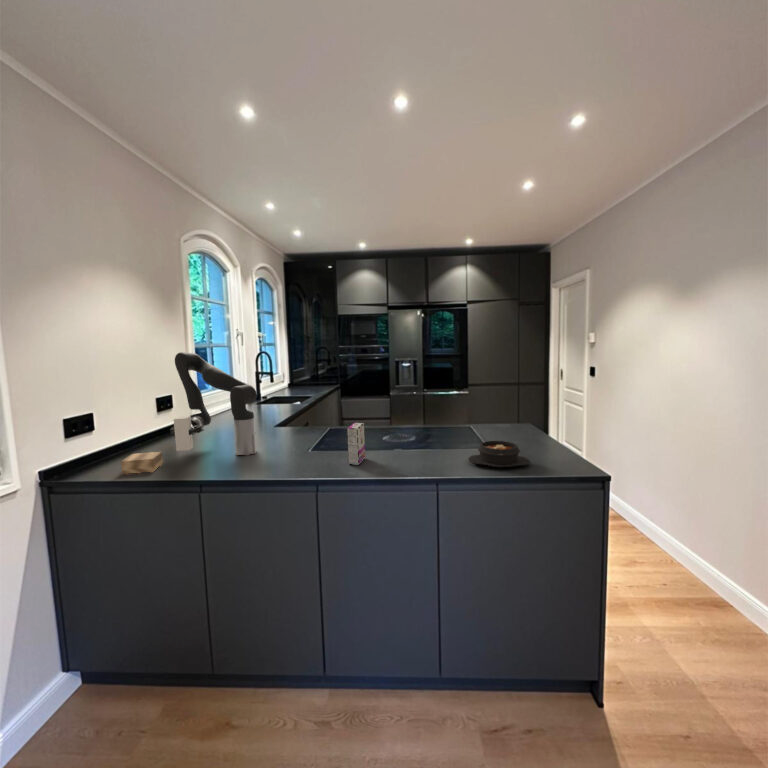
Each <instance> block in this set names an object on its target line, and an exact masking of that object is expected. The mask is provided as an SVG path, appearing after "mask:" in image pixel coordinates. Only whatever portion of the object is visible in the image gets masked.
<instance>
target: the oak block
mask: <svg viewBox="0 0 768 768" xmlns="http://www.w3.org/2000/svg"><path fill="white" fill-rule="evenodd" d="M163 459H164V458H163V451H151V452H140V453H131V454H130V455H128V456H127V457H126V458H124V459H122V460H121V461H120V465H121V472H122V473H121V475H122V474H126V475H129V474H128V473H138V474H142V473H141V472H150V473H155V472H156V471H157V470H158V469H159V468H160V467H161V466H163V465H164V461H163ZM159 466H160V467H159ZM158 467H159V468H158ZM157 468H158V469H157ZM156 469H157V470H156ZM155 470H156V471H155ZM154 471H155V472H154Z"/></svg>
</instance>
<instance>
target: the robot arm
mask: <svg viewBox="0 0 768 768" xmlns="http://www.w3.org/2000/svg"><path fill="white" fill-rule="evenodd" d="M174 366H175V369H176V371H177V373H178V376H179V379H180V380H181V383H182V385H183V388H184V391H185V395H186V399H187V405H188V408H189V409H190V410H192V411H193V410H198V411H200V412H198V413H194V414H191V415H189V416H191V427H192V428H191V429H190V430H189V435H191V434H192V436H194V435H196V434H199V433H202V432H204V431H205V428H204V427H205V426H209V425H210V424H211V423H212V422H211V421H212V418H211V415H210V413H209V412H208V410H207V409H206V406H205V404H204V399H203V394H202V391H201V390H200V388H199V386H198V385H197V384H196V382H195V381H194V380H193V378H192V377H191V375H190V372H189V371H193V372H197V373H199V374H201V377H202V379H203V381H204V382H205V384H207V385H208V386H211V387H212V388H214V389H217V390H221V391H224V392H229V400H230V408H231V409H230V410H231V414H232V416H233V428H234V430H233V431H234V445H235V455H236V456H238V455H246V456H250V454H252V455H255V454H256V453H257V438H256V431H255V430H256V429H255V415H254V412H253V411H251V410H248V408H247V407H246V405H249V404H252V403H254V402H255V401H256V400H257V399H258V394H257V391H256V389H255V388H254V387H253V385H252V384H251V385H250V384H248V383H245V382H243V381H241V380H239V379H236V378H235V377H234V376H232V375H230V374H228V373H227V372H225V371H224V370H222V369H220V368H219V367H216V366H215V365H213V364H211V363H209V362H207V361H206V359H203V357H202V356H200V355H199V354H197V353H195V352H178V353H176V355H175V356H174ZM169 430H170V431H169V432H170V435H171V436H173V437H175V430H174V426H172V427H171V428H170V429H169Z"/></svg>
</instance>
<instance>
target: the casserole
mask: <svg viewBox="0 0 768 768" xmlns="http://www.w3.org/2000/svg"><path fill="white" fill-rule="evenodd" d="M477 450H478V451H479V454H475V455H473V454H472V455H470V456H469V457H468V459H467V460H468V461H469V462H470V463H472V464H477V465H483V466H487V465H488V466H487V467H490V466H494V467H508V468H513V467H518V466H527V465H529V464H531V461H530V459H528V458H527V457H525V456H522V455H521V456H520V455H519V453H520V452H521V451H520V450H521V449H519V447H518V444H516V443H514V442H510V441H504V440H489V441H483V442H481V443H480V445H479V447H478V448H477ZM494 467H493V468H494Z"/></svg>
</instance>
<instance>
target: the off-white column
mask: <svg viewBox="0 0 768 768" xmlns="http://www.w3.org/2000/svg"><path fill="white" fill-rule="evenodd" d="M173 427H174V430H175V436H174V439H175V450H176V452H182V451H190V450H192V449H193V448H194V442H193V435H192V434H191V435H189V430H190V429H191V428H192V427H191V416H190V415H188V416H177V417H175V418H173Z"/></svg>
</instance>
